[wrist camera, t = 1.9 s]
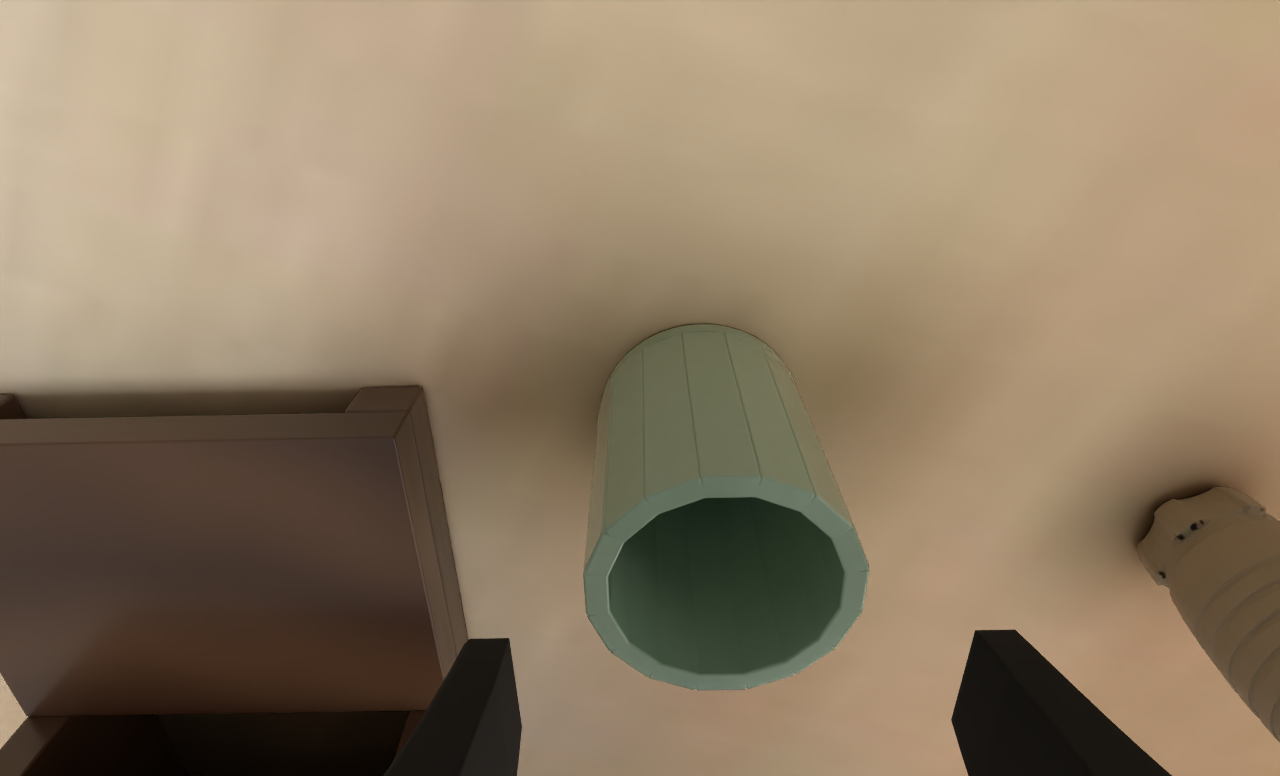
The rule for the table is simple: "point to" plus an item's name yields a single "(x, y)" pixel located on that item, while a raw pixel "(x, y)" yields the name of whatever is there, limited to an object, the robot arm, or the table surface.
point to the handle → (1225, 587)
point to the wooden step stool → (217, 575)
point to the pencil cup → (715, 517)
